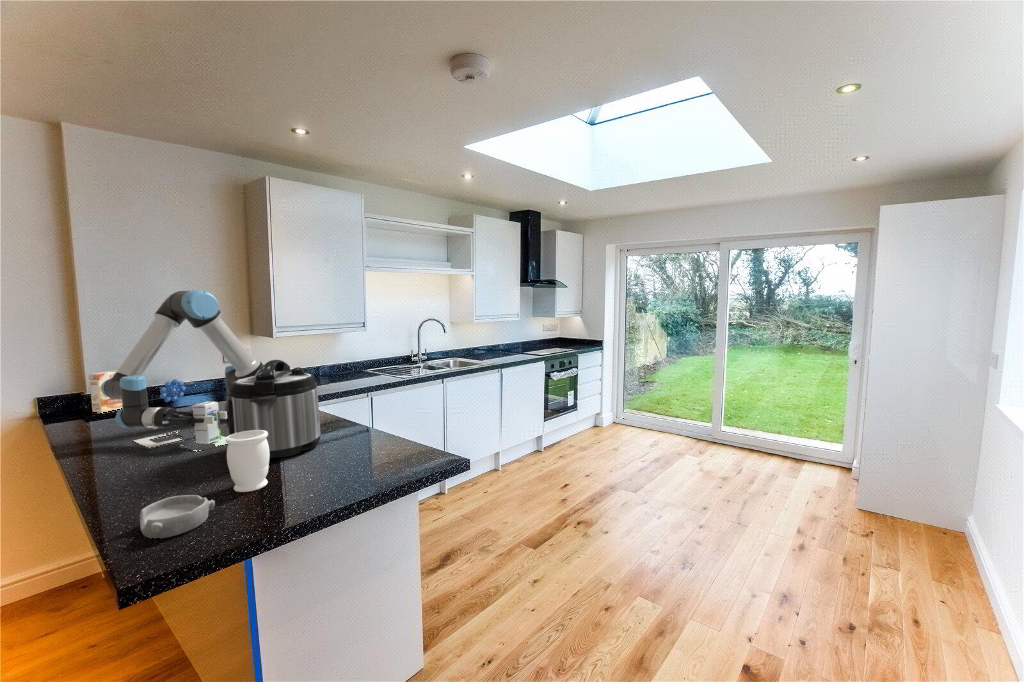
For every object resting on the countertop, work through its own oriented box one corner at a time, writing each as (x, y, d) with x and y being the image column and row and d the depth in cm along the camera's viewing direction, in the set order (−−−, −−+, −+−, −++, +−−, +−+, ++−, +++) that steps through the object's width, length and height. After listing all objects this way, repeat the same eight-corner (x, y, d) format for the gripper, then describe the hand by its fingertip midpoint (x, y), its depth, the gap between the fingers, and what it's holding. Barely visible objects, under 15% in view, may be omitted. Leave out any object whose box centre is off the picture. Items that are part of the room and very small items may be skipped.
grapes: (185, 398, 257) (183, 377, 256) (187, 400, 252) (185, 378, 251) (159, 402, 249) (157, 380, 248) (161, 404, 244) (159, 381, 243)
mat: (220, 436, 182) (220, 435, 182) (238, 441, 174) (238, 440, 174) (179, 446, 171) (179, 445, 171) (196, 452, 163) (196, 451, 163)
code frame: (181, 431, 191) (181, 430, 191) (198, 437, 182) (198, 435, 182) (133, 441, 178) (132, 440, 178) (149, 448, 169) (148, 447, 169)
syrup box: (209, 444, 169) (205, 404, 168) (195, 443, 170) (192, 404, 169) (221, 439, 175) (218, 401, 173) (208, 438, 176) (205, 401, 174)
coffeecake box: (101, 413, 226) (97, 374, 224) (92, 413, 228) (87, 373, 226) (135, 406, 240) (131, 369, 238) (125, 406, 242) (121, 368, 240)
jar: (241, 480, 136) (237, 430, 135) (277, 478, 137) (274, 428, 136) (221, 495, 126) (217, 441, 124) (261, 493, 127) (257, 439, 125)
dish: (160, 546, 100) (158, 524, 100) (124, 534, 106) (122, 513, 106) (226, 517, 113) (224, 497, 113) (190, 507, 119) (189, 488, 119)
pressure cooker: (284, 433, 184) (278, 354, 181) (340, 440, 173) (335, 355, 170) (210, 459, 156) (202, 365, 153) (272, 468, 146) (265, 368, 143)
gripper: (182, 420, 183) (237, 420, 181) (139, 435, 164) (201, 435, 162) (180, 402, 182) (236, 401, 180) (137, 414, 163) (199, 414, 161)
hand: (219, 417), depth 171 cm, fingers closed on syrup box, 6 cm apart
